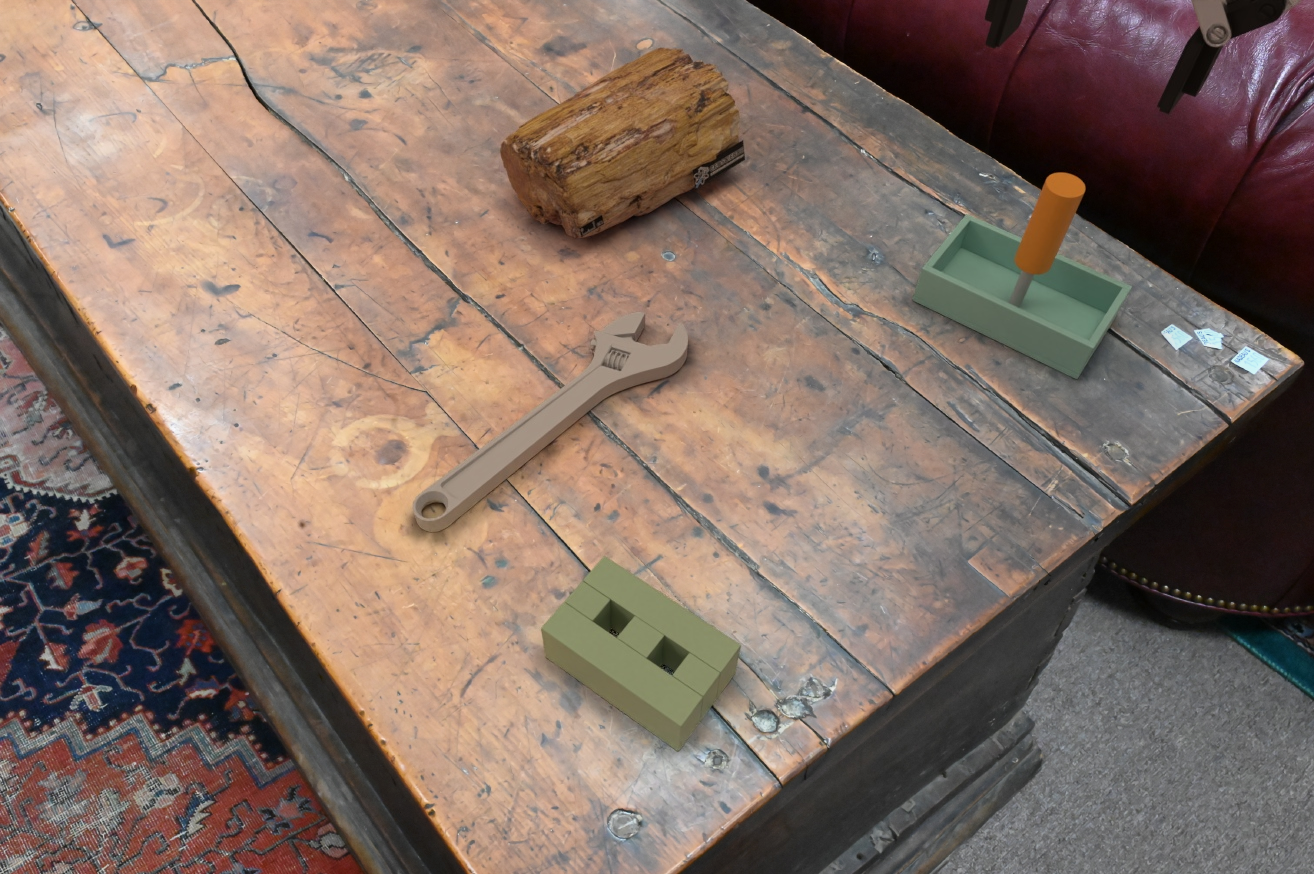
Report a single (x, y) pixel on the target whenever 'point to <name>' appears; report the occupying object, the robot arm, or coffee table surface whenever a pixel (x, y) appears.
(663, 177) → the petrified wood
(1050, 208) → the orange handle
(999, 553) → the coffee table surface
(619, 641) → the holder
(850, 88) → the coffee table surface
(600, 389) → the adjustable wrench
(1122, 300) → the tray
